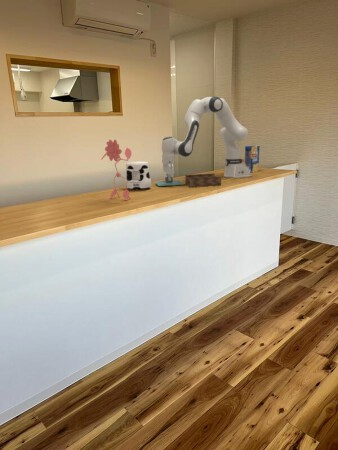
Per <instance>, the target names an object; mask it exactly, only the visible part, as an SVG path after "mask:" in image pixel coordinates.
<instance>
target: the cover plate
mask: <svg viewBox="0 0 338 450" xmlns="http://www.w3.org/2000/svg"><path fill="white" fill-rule="evenodd" d="M164 178H165V179H164V180H163V181H162V180H161V181H160V180H159V181H155V185H157V187H163V186H165V187H166V186H168V187H169V186H177V185H178V186H180V185H184V182H183V181H181V180H178V179H176V180H174V178H173V176H171V181H169V180H168V177H167V176H166V177H164Z"/></svg>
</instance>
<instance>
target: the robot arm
mask: <svg viewBox="0 0 338 450" xmlns="http://www.w3.org/2000/svg"><path fill="white" fill-rule="evenodd" d="M211 113H212V114H213V113H215V115H216V117H217V119H218V121H219V124H220V125H221V129H220V131H219V132H220V133H219V136H220V138H221V140H223V143H224V146H225V162H224V164H225V165H224V166H225V169H224V173H223V177H225V178H235V179H239V178H248V177H252V176H253V174H252V173H249V169H248V168H247V167H246V166H245V158H243V159H242V158H241V147H240V146H239V145H238V143H237V142H241V141H245V140H246V139H247V138H248V136H249V130H248V129H247V128H246V127H245V126H243V125H242V124H241V123H240V122H239V121H238V120H237V119H236V117H235V116H234V114H233V111H232V110H231V108H230V106H229V104H228V103H227V101H226V100H225V98H223V97H218V96H207V97H202V98H199V99H198V98H197V99H196V98H195V99H194V100H193V101H192V102H191V103H190V105H189V107H188V109H187V111H186V113H185V115H184V119H183V121H184V123H185V125H186V126H187V127H188V132H187V134H186V137H185V139H184V140H183V141H180V140H177V139H176V138H174V137H173V136H165V137H164V138H162V140H161V151H162V155H161V157H162V158H161V163H162V168H163V172H164V173H165V174H166V177H168V180H169V181H171V177H172V176H175V167H174V166H175V165H174V164H175V163H176V162H175V161H176V160H175V155H176V156H182V157H185V158H186V157H189V156H190V155H192V153H193V149H194V145H195V144H194V143H195V141H196V137H197V135H198V132H199V129H200V122H201V120H202V117H203V114H211Z"/></svg>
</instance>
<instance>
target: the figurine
mask: <svg viewBox="0 0 338 450" xmlns="http://www.w3.org/2000/svg"><path fill="white" fill-rule="evenodd" d="M104 150H105V153H104V155H102V157H101V159H100V160H103V159H104V158H105V157H106V156H107V157H108V158H109V161H111V162H112V161H113V160H114V162H115V163H114V167H115V170H116V174H115V176H114V177H113V182H114V183H113V184H114V186H116V181H115V178H123V179H124V180H125V181H126V180H127V182H128V179H126V178H125V177H123V176H122V175H121V173H120V172H119V171H118V168H117V164H118V163H119V162H120V161H126V162H129V160H130V158H131V157H132V150H131V149H130V148H128V147H126V149H125V150H124V155H125V157H126V159H125V158H121V156H120V155H121V154H122V152H123V151H122V149H120V145H119V143H118V141H117V139H114V140H111V139H108V141H107V142H106V147H105V148H104ZM125 185H126V184H125ZM116 194H117V197H118V198H121V196H120V194H119V193H118V188H117V187H114V189H112V192H111V193H110V199H112V198H113V197H115V195H116ZM122 197H123V199H124V201H127V200H128V199H129V200H131V197H130V191H129V189H128V188H127V185H126V187H125V189H124V191H123V193H122ZM105 203H106V204H108V202H107V201H105ZM114 204H115V205H116V204H118V205H119V202H116V203H115V202H114Z"/></svg>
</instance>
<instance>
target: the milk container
mask: <svg viewBox="0 0 338 450" xmlns="http://www.w3.org/2000/svg"><path fill="white" fill-rule="evenodd" d="M125 165H126V166H125V168H126V169H125V170H126V171H125V172H126V179H128V182H127V180H126V179H125V185H127V190H131V191H141V190H148V189H150V188H151V186H152V179H151V175H150V164H149V161H145V160H144V161H138V160H137V161H127V162H126V163H125Z"/></svg>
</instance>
